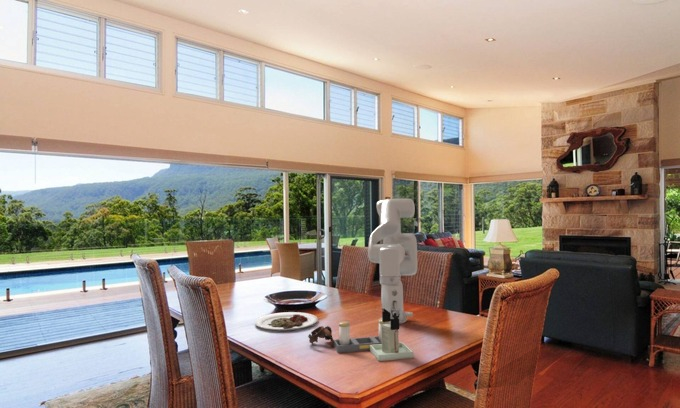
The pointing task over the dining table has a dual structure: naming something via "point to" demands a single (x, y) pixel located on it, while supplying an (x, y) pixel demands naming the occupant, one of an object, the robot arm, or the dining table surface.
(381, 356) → the tray
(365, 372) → the dining table surface
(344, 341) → the cylinder
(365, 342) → the fuse holder
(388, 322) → the fuse
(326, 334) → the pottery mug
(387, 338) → the skincare box
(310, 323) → the plated food
